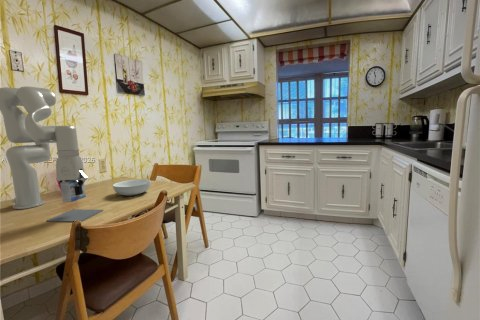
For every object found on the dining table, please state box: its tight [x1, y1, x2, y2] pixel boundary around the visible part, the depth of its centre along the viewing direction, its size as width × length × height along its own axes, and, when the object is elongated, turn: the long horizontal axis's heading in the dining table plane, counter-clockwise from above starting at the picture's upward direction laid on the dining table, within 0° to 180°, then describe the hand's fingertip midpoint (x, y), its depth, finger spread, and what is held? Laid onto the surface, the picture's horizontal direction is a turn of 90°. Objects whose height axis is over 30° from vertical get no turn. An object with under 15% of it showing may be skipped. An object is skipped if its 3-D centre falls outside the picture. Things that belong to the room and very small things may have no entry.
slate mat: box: [45, 208, 104, 223], centre depth 107 cm, size 16×14×1 cm
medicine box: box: [59, 180, 86, 203], centre depth 105 cm, size 8×4×9 cm, turn 169°
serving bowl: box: [112, 178, 152, 197], centre depth 142 cm, size 21×21×7 cm
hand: (73, 194), depth 105 cm, fingers closed on medicine box, 4 cm apart
